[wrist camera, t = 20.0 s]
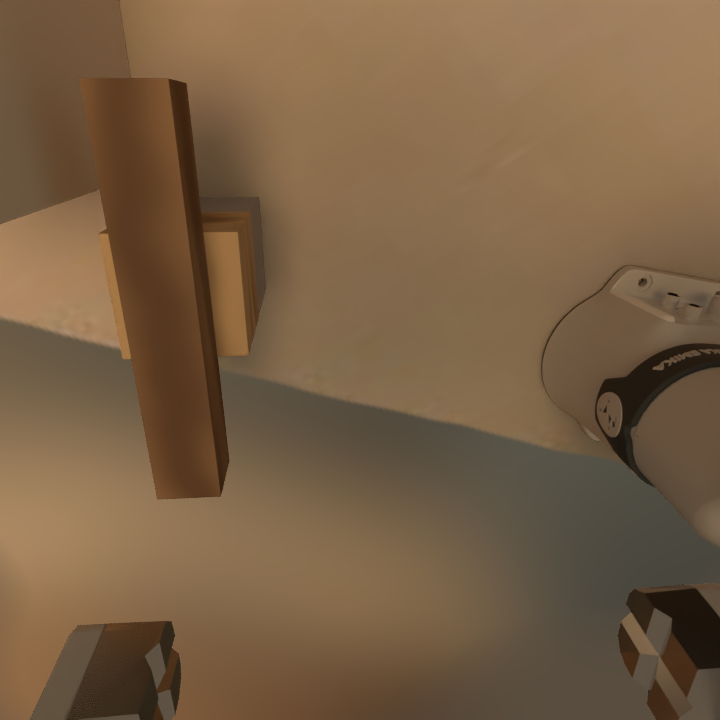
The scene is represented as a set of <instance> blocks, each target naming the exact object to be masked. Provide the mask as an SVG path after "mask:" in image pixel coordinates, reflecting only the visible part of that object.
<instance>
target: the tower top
mask: <svg viewBox="0 0 720 720" xmlns="http://www.w3.org/2000/svg"><path fill="white" fill-rule="evenodd" d="M201 216H202V225H203V234H204V242H205V251H206V260H207V269H208V278H209V286H210V295H211V304H212V313H213V322H214V330H215V339H216V348H217V356H244V355H249V352H250V348H251V344H252V340H253V337H254V333H255V329H256V325H257V321H258V317H259V314H258V301H257V288H256V275H255V262H254V249H253V236H252V224H251V212H201ZM99 240H100V245H101V250H102V255H103V260H104V265H105V271H106V276H107V281H108V286H109V291H110V296H111V302H112V307H113V312H114V317H115V322H116V327H117V332H118V338H119V343H120V348H121V353H122V358H123V359H131V355H130V350H129V344H128V339H127V334H126V328H125V323H124V318H123V312H122V307H121V301H120V296H119V291H118V285H117V280H116V275H115V269H114V264H113V258H112V253H111V248H110V242H109V237H108V232H107V229H106V230H104V231H102V232H101V233H99Z"/></svg>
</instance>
